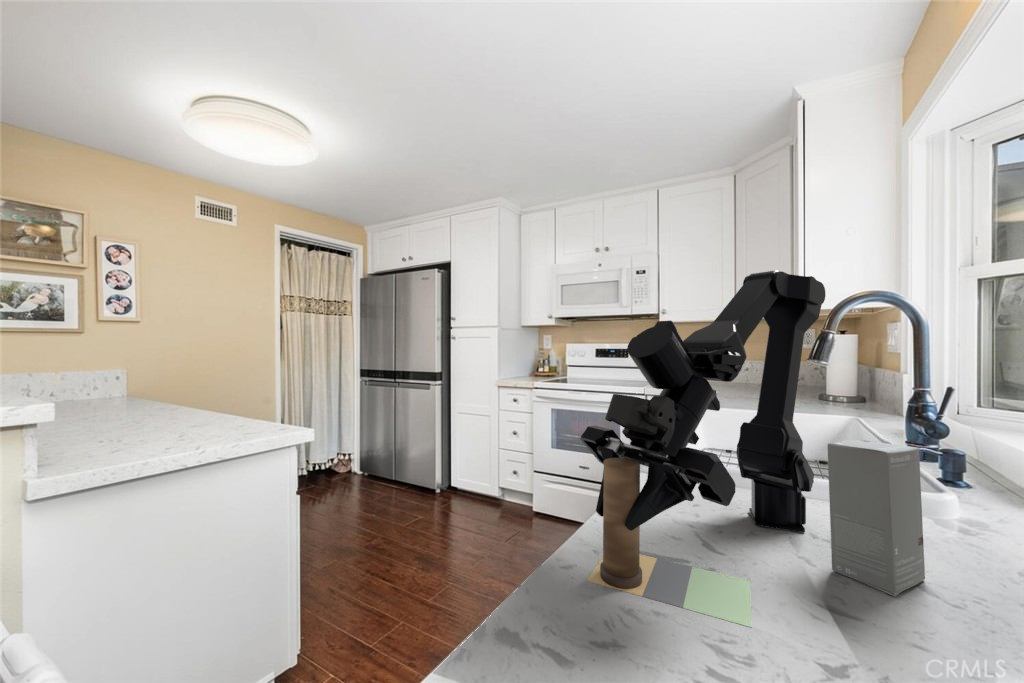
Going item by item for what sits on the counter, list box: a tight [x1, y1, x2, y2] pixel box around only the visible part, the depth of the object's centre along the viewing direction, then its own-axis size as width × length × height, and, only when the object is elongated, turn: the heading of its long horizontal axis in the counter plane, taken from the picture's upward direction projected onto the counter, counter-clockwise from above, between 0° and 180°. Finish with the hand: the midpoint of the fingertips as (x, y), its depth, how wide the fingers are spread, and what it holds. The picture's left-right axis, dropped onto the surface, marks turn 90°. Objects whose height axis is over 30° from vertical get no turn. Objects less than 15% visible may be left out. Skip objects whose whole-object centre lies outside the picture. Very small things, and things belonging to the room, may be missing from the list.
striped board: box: [586, 553, 753, 629], centre depth 47 cm, size 16×9×1 cm, turn 61°
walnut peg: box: [600, 458, 642, 589], centre depth 48 cm, size 5×5×13 cm
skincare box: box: [827, 439, 926, 597], centre depth 51 cm, size 8×7×16 cm
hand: (612, 520), depth 47 cm, fingers closed on walnut peg, 4 cm apart
